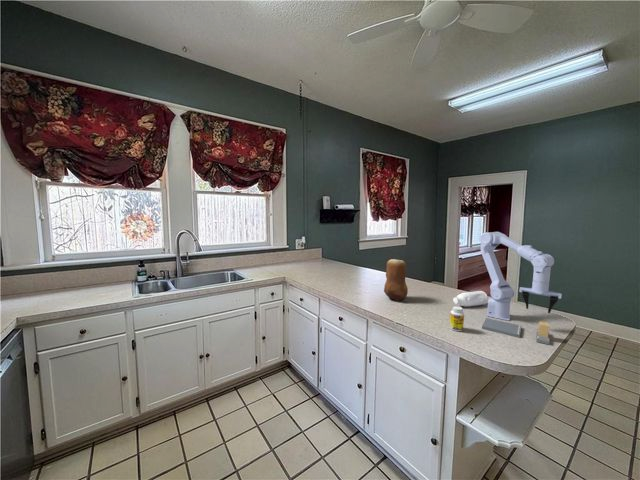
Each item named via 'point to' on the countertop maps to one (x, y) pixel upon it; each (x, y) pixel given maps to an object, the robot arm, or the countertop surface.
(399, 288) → the butternut squash
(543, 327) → the stub
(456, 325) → the supplement bottle
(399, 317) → the countertop surface
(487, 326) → the grey studded panel
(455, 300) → the white bottle
